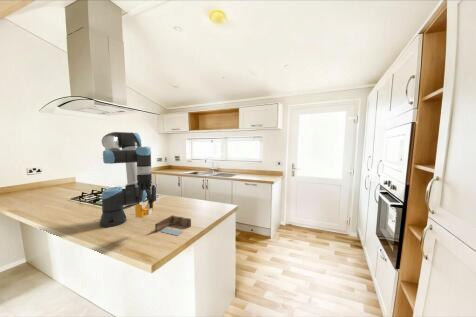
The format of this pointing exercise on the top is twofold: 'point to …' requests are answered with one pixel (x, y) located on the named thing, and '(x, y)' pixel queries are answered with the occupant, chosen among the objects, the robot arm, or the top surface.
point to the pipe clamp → (142, 210)
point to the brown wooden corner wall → (172, 222)
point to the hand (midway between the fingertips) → (145, 213)
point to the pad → (171, 231)
